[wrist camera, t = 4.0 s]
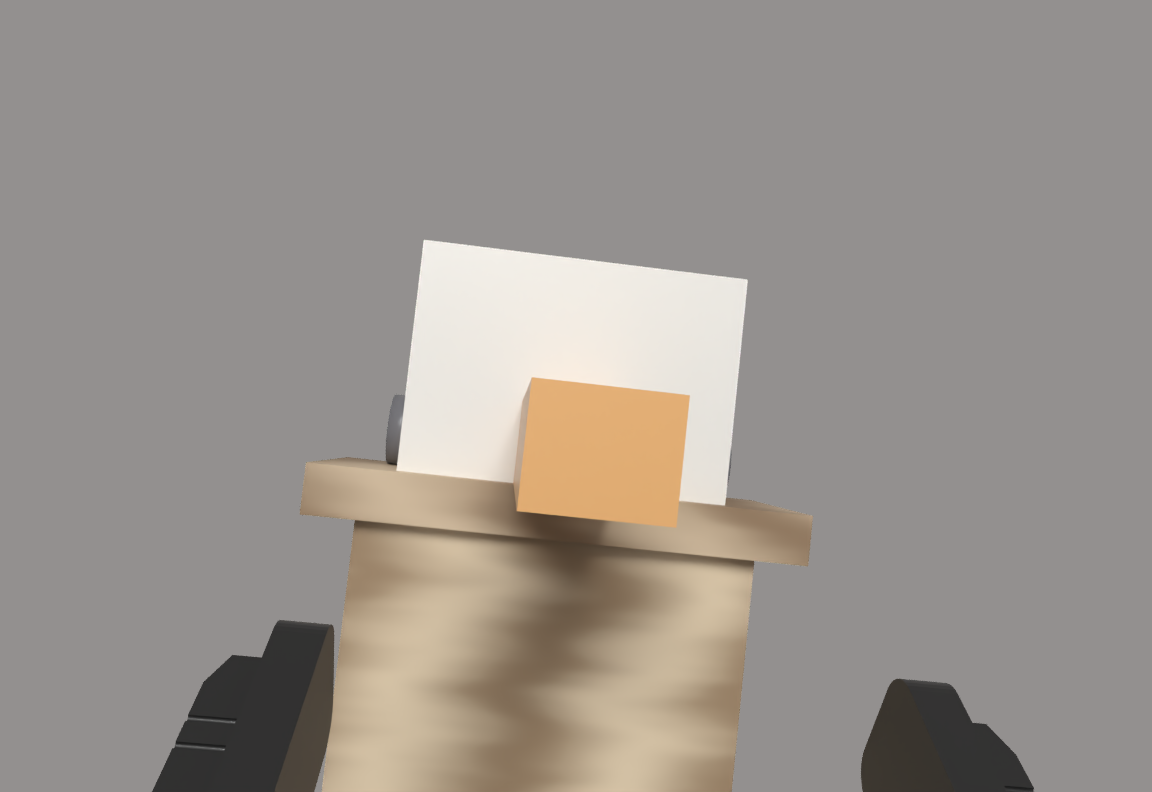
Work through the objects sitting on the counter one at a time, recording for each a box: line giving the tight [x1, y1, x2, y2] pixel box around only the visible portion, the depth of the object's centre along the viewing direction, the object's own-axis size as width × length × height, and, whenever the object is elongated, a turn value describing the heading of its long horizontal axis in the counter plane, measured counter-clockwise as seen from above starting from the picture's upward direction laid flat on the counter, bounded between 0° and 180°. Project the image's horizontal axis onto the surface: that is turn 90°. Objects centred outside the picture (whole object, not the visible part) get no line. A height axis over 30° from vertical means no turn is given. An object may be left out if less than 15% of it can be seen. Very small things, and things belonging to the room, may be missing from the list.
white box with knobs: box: [386, 240, 748, 528], centre depth 25 cm, size 12×16×7 cm
